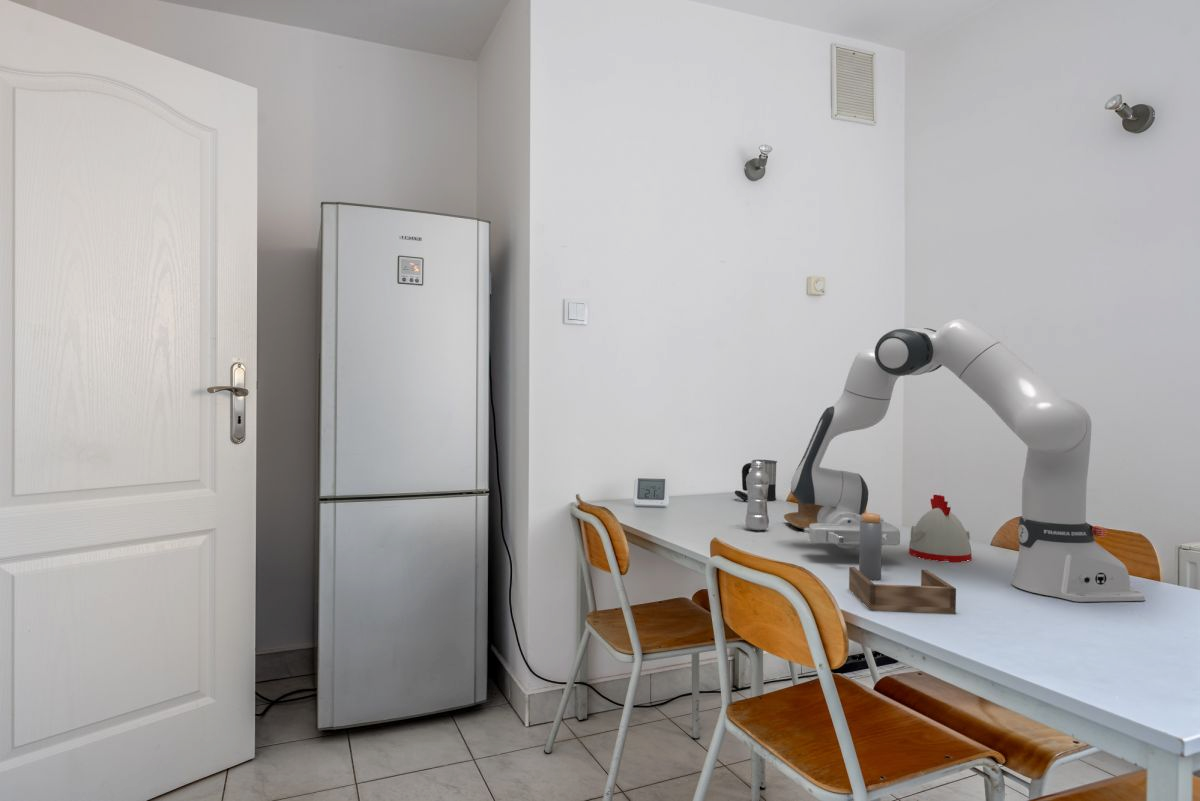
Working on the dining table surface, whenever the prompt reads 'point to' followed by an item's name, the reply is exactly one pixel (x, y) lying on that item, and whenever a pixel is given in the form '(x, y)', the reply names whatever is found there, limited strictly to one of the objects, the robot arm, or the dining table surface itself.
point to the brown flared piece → (803, 515)
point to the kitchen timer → (940, 535)
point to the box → (905, 594)
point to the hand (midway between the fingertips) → (861, 541)
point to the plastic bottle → (757, 497)
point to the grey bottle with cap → (870, 546)
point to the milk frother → (771, 473)
